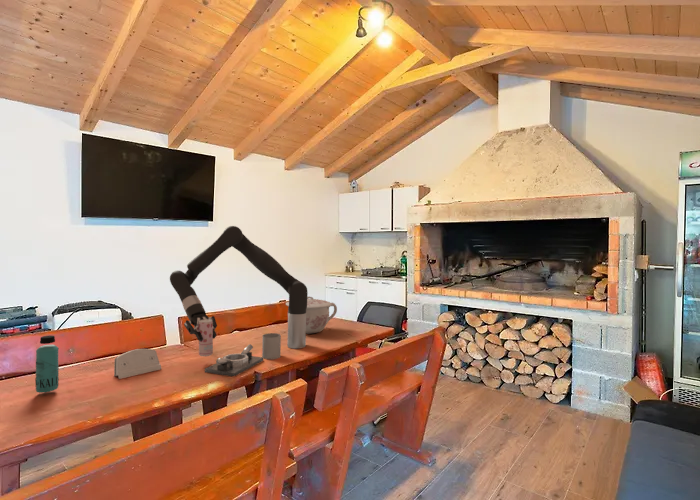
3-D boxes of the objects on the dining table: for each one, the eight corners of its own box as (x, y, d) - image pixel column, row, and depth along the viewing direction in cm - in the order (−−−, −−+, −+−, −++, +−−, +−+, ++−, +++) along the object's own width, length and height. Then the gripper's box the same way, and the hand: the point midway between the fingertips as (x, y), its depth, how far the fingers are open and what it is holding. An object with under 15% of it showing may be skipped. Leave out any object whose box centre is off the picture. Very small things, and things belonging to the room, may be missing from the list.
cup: (283, 355, 186) (284, 334, 186) (273, 360, 179) (273, 338, 178) (269, 353, 190) (269, 332, 189) (258, 357, 182) (258, 336, 182)
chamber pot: (276, 334, 226) (277, 298, 225) (296, 324, 252) (297, 292, 252) (322, 339, 218) (323, 301, 217) (338, 328, 244) (339, 295, 243)
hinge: (118, 379, 151) (115, 353, 153) (113, 380, 154) (110, 354, 156) (162, 368, 164) (158, 344, 166) (157, 370, 167) (154, 346, 169)
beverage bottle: (43, 389, 140) (43, 333, 139) (63, 389, 140) (63, 333, 140) (30, 397, 133) (30, 338, 132) (51, 397, 134) (51, 338, 133)
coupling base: (237, 356, 183) (237, 342, 183) (264, 360, 178) (264, 345, 178) (203, 372, 161) (203, 356, 160) (232, 377, 156) (233, 360, 156)
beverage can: (204, 357, 168) (204, 322, 168) (196, 355, 171) (196, 320, 171) (215, 354, 173) (215, 320, 172) (207, 351, 176) (207, 318, 175)
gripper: (181, 304, 170) (196, 337, 163) (211, 300, 182) (226, 330, 175) (175, 315, 174) (189, 347, 167) (205, 310, 185) (219, 340, 178)
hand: (208, 338), depth 171 cm, fingers closed on beverage can, 5 cm apart
